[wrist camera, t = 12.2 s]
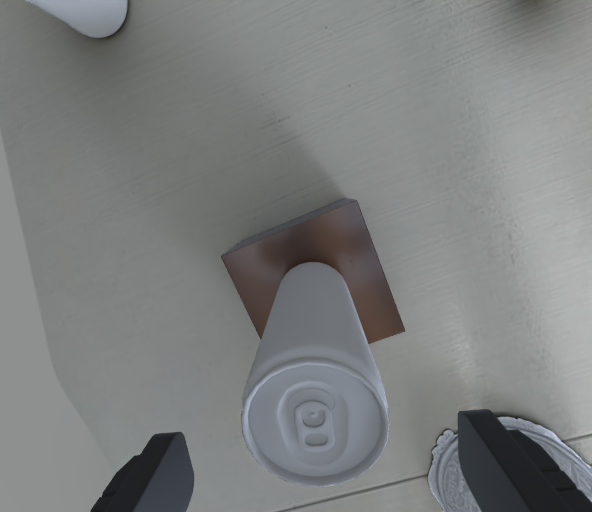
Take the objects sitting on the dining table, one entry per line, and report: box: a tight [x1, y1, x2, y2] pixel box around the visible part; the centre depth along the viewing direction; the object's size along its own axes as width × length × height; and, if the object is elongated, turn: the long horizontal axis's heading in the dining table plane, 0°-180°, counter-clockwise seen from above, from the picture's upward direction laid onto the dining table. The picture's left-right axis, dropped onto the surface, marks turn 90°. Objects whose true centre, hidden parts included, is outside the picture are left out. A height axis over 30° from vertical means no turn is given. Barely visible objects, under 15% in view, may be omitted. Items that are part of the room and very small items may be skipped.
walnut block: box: [221, 198, 405, 344], centre depth 24 cm, size 10×10×6 cm
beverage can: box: [241, 262, 389, 487], centre depth 15 cm, size 5×5×12 cm
